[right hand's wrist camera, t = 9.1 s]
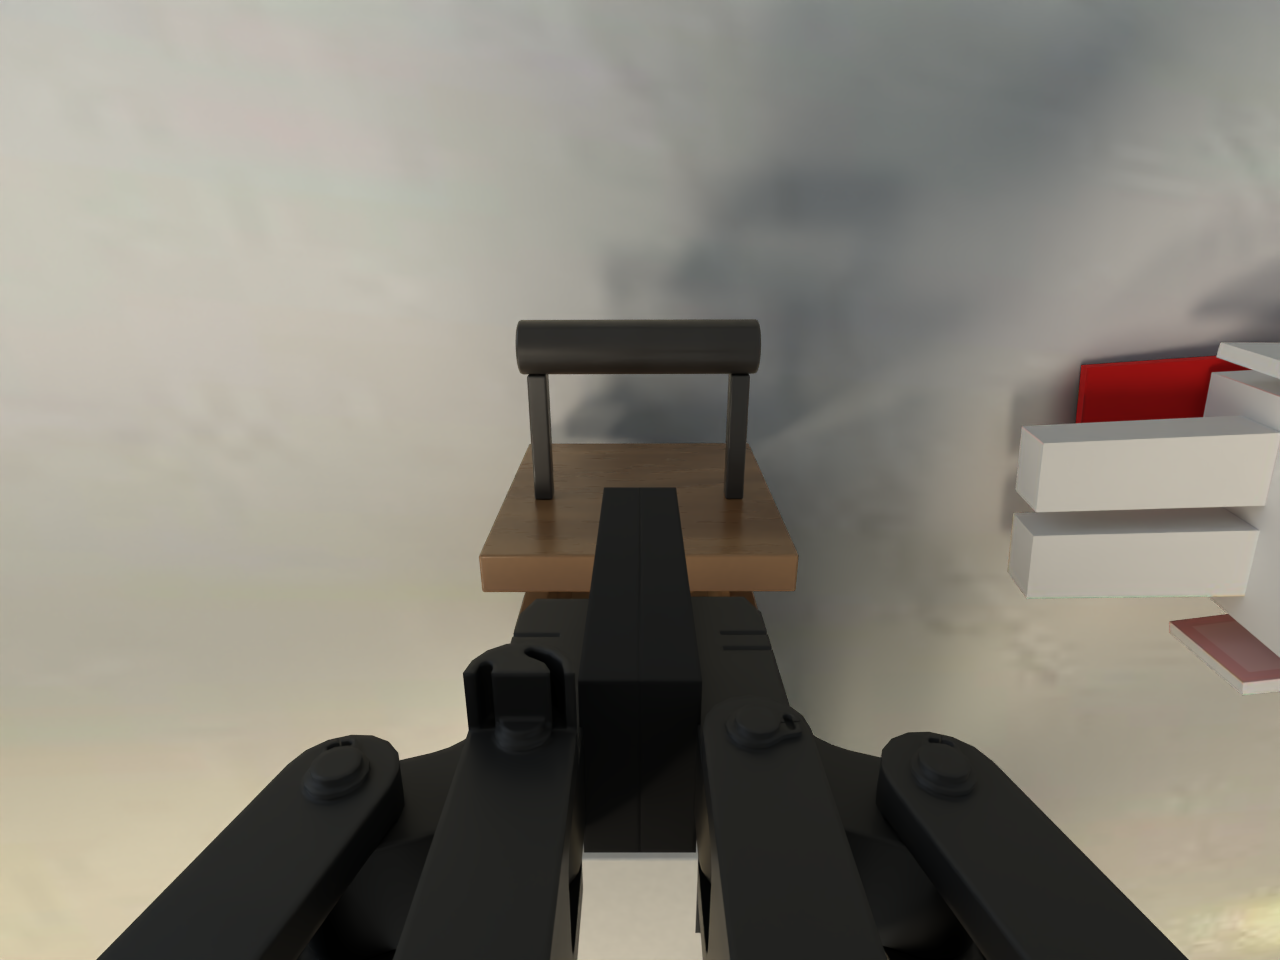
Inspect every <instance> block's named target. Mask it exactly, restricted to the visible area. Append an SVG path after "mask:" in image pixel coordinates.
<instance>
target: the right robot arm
mask: <svg viewBox="0 0 1280 960" xmlns="http://www.w3.org/2000/svg"><path fill="white" fill-rule="evenodd" d="M463 678H464V688H465V697H466V707H467V717H468V727H469V731H468V734H467V737H466V739H465V740H463V741H461V742H459V743H457V744H455V745H453V746H451V747H449V748H446V749H443V750H440V751H437V752H433V753H430V754H425V755H421V756H417V757H413V758H408V759H404V760H400V761H399V755H398V752H397V751H396V750H395V749H394V747H393V746H392V745H391V744H390V743H389V742H388V741H386V740H383V739H380V738H378V737H375V736H372V735H349V736H344V737H340V738H335V739H331V740H327V741H325V742H323V743H321V744H319V745H316V746H314V747H312V748H310V749H308V750H306V751H305V752H303V753H302V754H301V755H299V756H298V757H297V758H296V759H294V760H293V761H292V762H290V763H289V764H288V765H287V766H286V767H285V768H284V769H283V770H282V771H281V772H280V773H279V774H278V775H277V776H276V777H275V778H274V779H273V780H272V781H271V782H270V783H269V784H268V785H267V786H266V787H265V788H264V789H263V790H262V791H261V792H260V793H259V794H258V795H257V796H256V797H255V798H254V800H253V801H252V802H251V803H250V804H249V805H248V806H247V807H246V808H245V809H244V810H243V811H242V812H241V813H240V814H239V815H238V816H237V817H236V818H235V819H234V820H233V821H232V822H231V823H230V824H229V825H228V826H227V827H226V828H225V829H224V830H223V831H222V832H221V833H220V834H219V835H218V836H217V837H216V838H215V839H214V840H213V841H212V842H211V843H210V844H209V845H208V846H207V847H206V848H205V849H204V850H203V852H202V853H201V854H200V855H199V856H198V857H197V858H196V859H195V860H194V861H193V862H192V863H191V864H190V865H189V866H188V867H187V868H186V869H185V870H184V871H183V872H182V873H181V874H180V875H179V876H178V877H177V878H176V879H175V880H174V881H173V882H172V883H171V884H170V885H169V886H168V887H167V888H166V889H165V890H164V891H163V892H162V893H161V894H160V895H159V896H158V897H157V898H156V899H155V900H154V901H153V903H152V904H151V905H150V906H149V907H148V908H147V909H146V910H145V911H144V912H143V913H142V914H141V915H140V916H139V917H138V918H137V919H136V920H135V921H134V922H133V923H132V924H131V925H130V926H129V927H128V928H127V929H126V930H125V931H124V932H123V933H122V934H121V935H120V936H119V937H118V938H117V939H116V940H115V941H114V942H113V943H112V944H111V945H110V946H109V947H108V948H107V949H106V950H105V951H104V952H103V953H102V955H101V956H100V957H99V958H98V959H97V960H577V958H578V946H579V934H580V922H581V909H582V897H583V874H582V854H583V843H584V853H696V840H697V851H698V874H697V900H696V927H695V933H701V945H702V957H703V960H1188V959H1187V958H1186V957H1185V956H1184V955H1183V954H1182V953H1181V951H1180V950H1179V949H1178V948H1177V947H1176V946H1175V945H1174V944H1173V943H1172V942H1171V941H1170V940H1169V939H1168V938H1167V937H1166V936H1165V935H1164V934H1163V933H1162V932H1161V931H1160V930H1159V929H1158V928H1157V927H1156V926H1155V925H1154V924H1153V923H1152V922H1151V921H1150V920H1149V919H1148V918H1147V917H1146V916H1145V915H1144V914H1143V913H1142V912H1141V911H1140V910H1139V909H1138V908H1137V907H1136V906H1135V905H1134V904H1133V903H1132V902H1131V901H1130V900H1129V899H1128V898H1127V897H1126V896H1125V895H1124V894H1123V893H1122V892H1121V891H1120V890H1119V889H1118V888H1117V887H1116V886H1115V885H1114V884H1113V883H1112V882H1111V881H1110V880H1109V879H1108V878H1107V877H1106V876H1105V875H1104V874H1103V872H1102V871H1101V870H1100V869H1099V868H1098V867H1097V866H1096V865H1095V864H1094V863H1093V862H1092V861H1091V860H1090V859H1089V858H1088V857H1087V856H1086V855H1085V854H1084V853H1083V852H1082V851H1081V850H1080V849H1079V848H1078V847H1077V846H1076V845H1075V844H1074V843H1073V842H1072V841H1071V840H1070V839H1069V838H1068V837H1067V836H1066V835H1065V834H1064V833H1063V832H1062V831H1061V830H1060V829H1059V828H1058V827H1057V826H1056V825H1055V824H1054V823H1053V822H1052V821H1051V820H1050V819H1049V818H1048V817H1047V816H1046V815H1045V814H1044V813H1043V812H1042V811H1041V810H1040V809H1039V808H1038V807H1037V806H1036V805H1035V804H1034V803H1033V802H1032V801H1031V800H1030V799H1029V798H1028V797H1027V796H1026V795H1025V793H1024V792H1023V791H1022V790H1021V789H1020V788H1019V787H1018V786H1017V785H1016V784H1015V783H1014V782H1013V781H1012V780H1011V779H1010V778H1009V777H1008V776H1007V775H1006V774H1005V773H1004V772H1003V771H1002V770H1001V769H1000V768H999V767H998V766H997V765H996V764H995V763H994V762H993V761H992V760H990V759H989V758H988V757H986V756H985V755H984V754H983V753H981V752H980V751H979V750H977V749H976V748H975V747H973V746H971V745H969V744H966V743H964V742H962V741H960V740H958V739H955V738H953V737H950V736H945V735H941V734H936V733H932V732H909V733H906V734H903V735H900V736H898V737H895V738H892V739H891V740H890V741H889V743H888V744H887V745H886V746H885V747H884V748H883V750H882V755H881V758H880V757H876V756H871V755H867V754H863V753H858V752H854V751H850V750H846V749H843V748H840V747H837V746H834V745H831V744H829V743H827V742H825V741H823V740H821V739H819V738H817V737H815V736H814V735H813V733H812V730H811V728H810V727H809V725H808V724H807V722H806V720H805V719H804V717H803V716H802V715H801V714H799V713H798V712H797V711H795V710H794V709H793V708H791V707H790V706H789V702H788V699H787V696H786V693H785V689H784V686H783V683H782V680H781V676H780V673H779V670H778V667H777V663H776V660H775V657H774V654H773V650H771V644H770V641H769V637H768V635H767V631H766V628H765V624H764V621H763V618H762V615H761V612H760V611H759V610H758V609H757V608H755V607H754V606H753V605H752V604H751V603H750V602H749V601H748V600H747V599H746V598H745V597H691V594H690V587H689V579H688V572H687V565H686V557H685V550H684V542H683V535H682V528H681V520H680V513H679V505H678V498H677V490H676V487H604V490H603V498H602V505H601V513H600V520H599V528H598V535H597V542H596V550H595V557H594V565H593V572H592V579H591V587H590V594H589V599H536V600H534V601H533V602H532V603H531V604H530V605H529V606H528V607H527V608H526V609H525V610H524V611H523V612H522V613H521V614H520V615H519V617H518V621H517V624H516V627H515V630H514V637H512V640H511V644H505V645H502V646H499V647H496V648H493V649H490V650H488V651H486V652H484V653H483V654H481V655H480V656H478V657H477V658H475V659H474V660H472V661H471V663H470V664H469V666H468V667H467V668H466V670H465V671H464V673H463Z"/></svg>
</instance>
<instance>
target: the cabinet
mask: <svg viewBox="0 0 1280 960" xmlns="http://www.w3.org/2000/svg"><path fill="white" fill-rule="evenodd" d="M582 874H583V897H582V909H581V922H580V934H579V946H578V958H577V960H703V957H702V945H701V933H695V927H696V900H697V874H698V851H697V840H696V853H584V843H583V854H582Z"/></svg>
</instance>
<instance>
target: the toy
mask: <svg viewBox="0 0 1280 960" xmlns="http://www.w3.org/2000/svg"><path fill="white" fill-rule="evenodd" d="M1016 492H1017V493H1018V494H1019V495H1020V496H1021V497H1022V498H1023V499H1024V500H1025V501H1026V502H1027V503H1028V504H1029V506H1030V507H1031V508H1032V509H1033V510H1034V511H1035V512H1027V513H1013V521H1012V531H1011V542H1010V552H1009V562H1008V573H1009V575H1010V576H1011V578H1012V579H1013V580H1014V582H1015V583H1016V585H1017V586H1018V587H1019V589H1020V590H1021V592H1022V593H1023V594H1024V596H1025V597H1026V599H1036V598H1126V597H1209V598H1210V599H1211V600H1213V601H1214V602H1215V603H1216V604H1217V605H1218V606H1220V607H1221V608H1222V609H1223V610H1224V611H1225V612H1227V613H1228V614H1225V615H1217V616H1208V617H1200V618H1192V619H1184V620H1176V621H1170V622H1169V633H1170V634H1172V635H1173V636H1174V637H1175V638H1176V639H1177V640H1179V641H1180V642H1181V643H1182V644H1183V645H1184V646H1186V647H1187V648H1188V649H1189V650H1190V651H1191V652H1192V653H1194V654H1195V655H1196V656H1197V657H1198V658H1199V659H1201V660H1202V661H1203V662H1204V663H1205V664H1206V665H1208V666H1209V667H1210V668H1211V669H1212V670H1213V671H1215V672H1216V673H1217V674H1218V675H1219V676H1220V677H1222V678H1223V679H1224V680H1225V681H1226V682H1227V683H1229V684H1230V685H1231V686H1232V687H1233V688H1234V689H1236V690H1237V691H1238V692H1239V693H1240V694H1241V695H1250V694H1260V693H1269V692H1278V691H1280V343H1263V342H1221V343H1220V346H1219V349H1218V353H1217V356H1204V357H1190V358H1175V359H1161V360H1146V361H1132V362H1118V363H1103V364H1089V365H1081V374H1080V384H1079V394H1078V404H1077V414H1076V423H1073V424H1052V425H1031V426H1022V429H1021V440H1020V450H1019V460H1018V470H1017V480H1016Z"/></svg>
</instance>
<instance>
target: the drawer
mask: <svg viewBox="0 0 1280 960" xmlns="http://www.w3.org/2000/svg"><path fill="white" fill-rule="evenodd" d="M760 355H761V331H760V325H759V322H758V320H755V319H740V320H521V321H519V322H518V325H517V329H516V357H517V364H518V368H519V371H520V373H521V374H529V375H528V377H527V383H528V399H529V415H530V431H531V444H529V447H528V449H527V451H526V453H525V455H524V458H523V460H522V462H521V464H520V467H519V469H518V471H517V473H516V475H515V478H514V480H513V482H512V484H511V487H510V489H509V491H508V493H507V496H506V498H505V500H504V502H503V504H502V507H501V509H500V511H499V513H498V516H497V518H496V520H495V522H494V524H493V527H492V529H491V531H490V533H489V536H488V538H487V540H486V542H485V544H484V547H483V549H482V551H481V553H480V556H479V561H480V571H481V581H482V590H483V592H525V595H524V599H523V602H522V605H521V609H520V612H519V615H520V614H521V613H522V612H523V611H524V610H525V609H526V608H527V607H528V606H529V605H530V604H531V603H532V602H533V601H534V600H536V599H589V594H590V587H591V579H592V572H593V565H594V557H595V550H596V542H597V535H598V528H599V520H600V513H601V505H602V498H603V490H604V487H676V490H677V498H678V505H679V513H680V520H681V528H682V535H683V542H684V550H685V557H686V565H687V572H688V579H689V587H690V594H691V597H745V598H746V599H747V600H748V601H749V602H750V603H751V604H752V605H753V606H754V607H755V608H757V604H756V601H755V597H754V594H753V591H795V589H796V579H797V568H798V557H799V556H798V553H797V551H796V549H795V546H794V544H793V542H792V540H791V537H790V535H789V533H788V531H787V528H786V526H785V524H784V522H783V520H782V517H781V515H780V513H779V511H778V508H777V506H776V504H775V502H774V499H773V497H772V495H771V493H770V490H769V488H768V486H767V484H766V481H765V479H764V477H763V475H762V473H761V470H760V468H759V466H758V464H757V461H756V459H755V457H754V455H753V452H752V450H751V448H750V446H749V444H748V443H746V439H747V421H748V403H749V385H750V376H749V374H754V373H756V372H757V370H758V367H759V363H760ZM548 374H729V381H728V403H727V426H726V443H677V444H552V437H551V418H550V398H549V379H548ZM757 609H758V608H757ZM518 617H519V616H518ZM517 621H518V619H517ZM516 624H517V623H516ZM515 627H516V626H515Z"/></svg>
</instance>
